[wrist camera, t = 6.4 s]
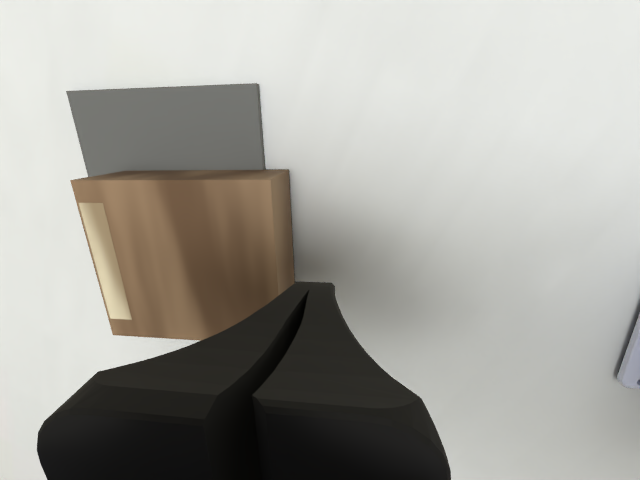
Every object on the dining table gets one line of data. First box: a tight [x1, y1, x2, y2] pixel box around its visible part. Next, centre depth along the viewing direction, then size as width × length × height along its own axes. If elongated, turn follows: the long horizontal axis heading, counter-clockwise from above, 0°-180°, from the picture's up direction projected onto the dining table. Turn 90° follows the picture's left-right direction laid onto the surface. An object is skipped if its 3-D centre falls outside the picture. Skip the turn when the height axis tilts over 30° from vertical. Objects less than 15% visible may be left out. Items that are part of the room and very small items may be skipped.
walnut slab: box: [71, 170, 295, 340], centre depth 16 cm, size 4×8×9 cm
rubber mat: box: [66, 83, 265, 177], centre depth 18 cm, size 10×12×1 cm
